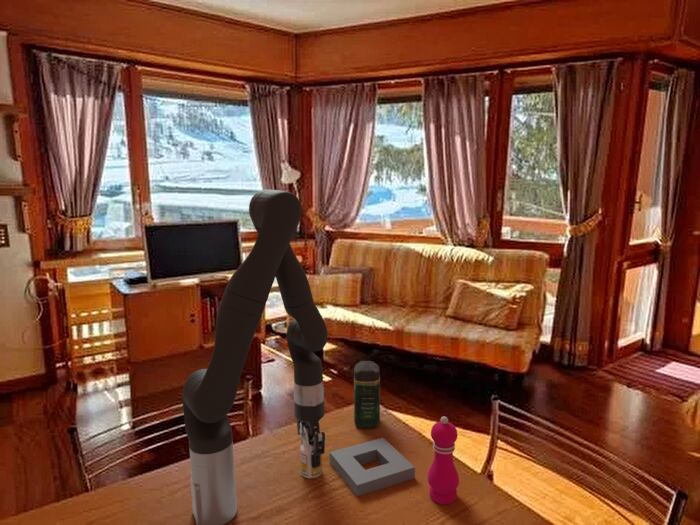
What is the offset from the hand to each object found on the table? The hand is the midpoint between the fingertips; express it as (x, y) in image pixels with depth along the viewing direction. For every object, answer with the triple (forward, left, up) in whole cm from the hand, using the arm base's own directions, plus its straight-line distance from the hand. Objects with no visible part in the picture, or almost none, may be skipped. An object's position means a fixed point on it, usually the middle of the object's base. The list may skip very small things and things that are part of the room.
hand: (311, 459), depth 129 cm
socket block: (+14, -6, -4) cm, 16 cm away
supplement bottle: (0, 0, -4) cm, 4 cm away
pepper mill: (+24, -23, -4) cm, 33 cm away
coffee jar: (+25, +17, -4) cm, 30 cm away
